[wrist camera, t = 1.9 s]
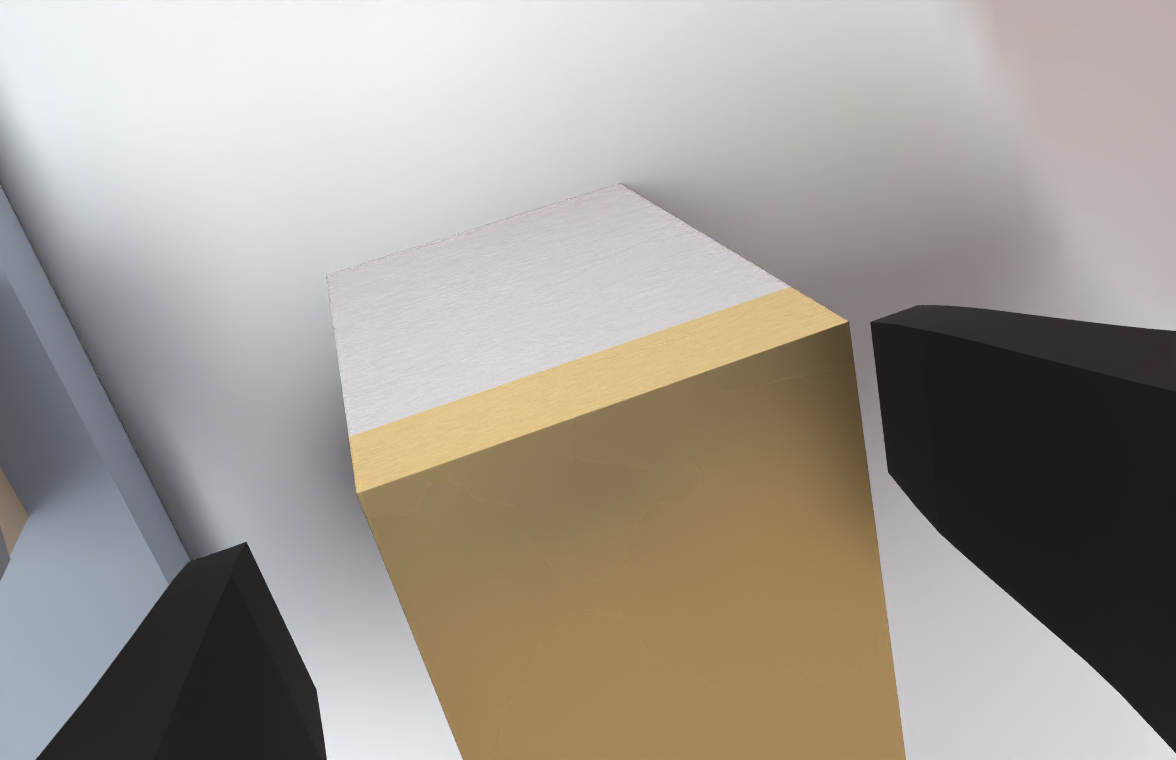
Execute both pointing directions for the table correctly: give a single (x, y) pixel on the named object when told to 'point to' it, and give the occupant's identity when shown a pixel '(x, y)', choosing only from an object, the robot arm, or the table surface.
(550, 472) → the tan and white block
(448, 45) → the table surface
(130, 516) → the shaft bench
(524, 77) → the table surface
